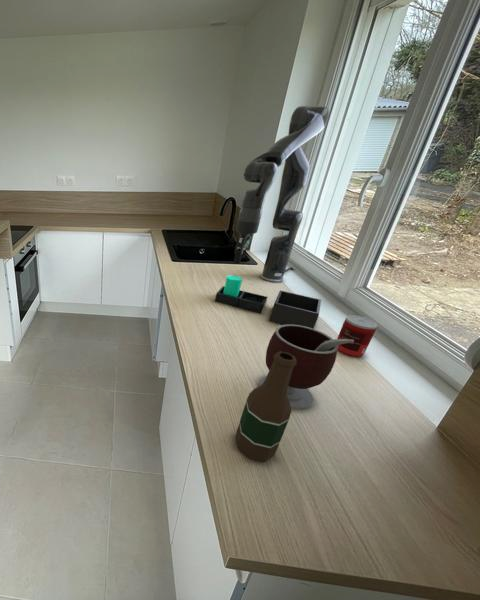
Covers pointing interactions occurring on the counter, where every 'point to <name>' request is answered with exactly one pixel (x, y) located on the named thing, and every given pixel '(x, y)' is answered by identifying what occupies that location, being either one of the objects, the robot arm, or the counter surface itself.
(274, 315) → the black open box
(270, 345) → the mate gourd
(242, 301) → the black divided tray
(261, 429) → the beer bottle
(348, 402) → the counter surface
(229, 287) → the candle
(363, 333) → the canned food
